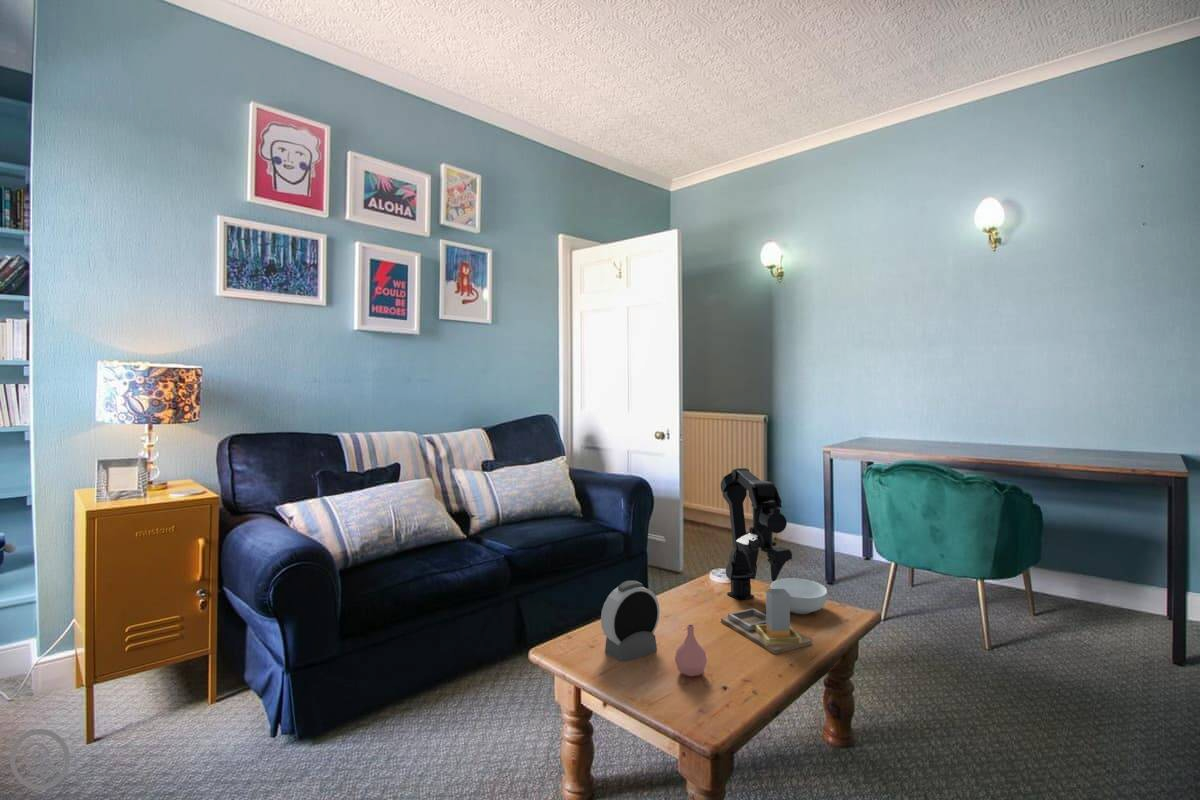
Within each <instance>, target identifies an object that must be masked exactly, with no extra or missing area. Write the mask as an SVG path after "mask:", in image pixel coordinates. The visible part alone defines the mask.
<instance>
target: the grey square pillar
mask: <svg viewBox="0 0 1200 800" xmlns="http://www.w3.org/2000/svg"><path fill="white" fill-rule="evenodd" d="M765 593H766V594H765V597H766V598H765V606H766V607H765V614H766V634H767V635H768V636H769V637H770V638H784V637H790V626H791V624H790V623H791V612H790V594H789V593H788V592H787V591H786V590H785V589H771V588H769V589H768V588H766V589H765Z"/></svg>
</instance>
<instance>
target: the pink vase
mask: <svg viewBox="0 0 1200 800" xmlns="http://www.w3.org/2000/svg"><path fill="white" fill-rule="evenodd" d="M686 626H687V627H686V628H687V635H686V637H685V639H684V641H683V642H682V643H681V644H680V645H679V646H678V647H677V648H676V652H675V656H674V661H675V664H676V666H677V667H676V668H677V670H678V672H680V674H683V675H686V676H688V677H695V676H700V675H702V674H704V672H705V668H706V665H707V662H708V660H707V654H706V650H705V649H704V648H703V647H702V646H701V645H700V644H699V643H698V641H697V639H696V637H695V630H694V629H695V626H694V624H688V625H686Z"/></svg>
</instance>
